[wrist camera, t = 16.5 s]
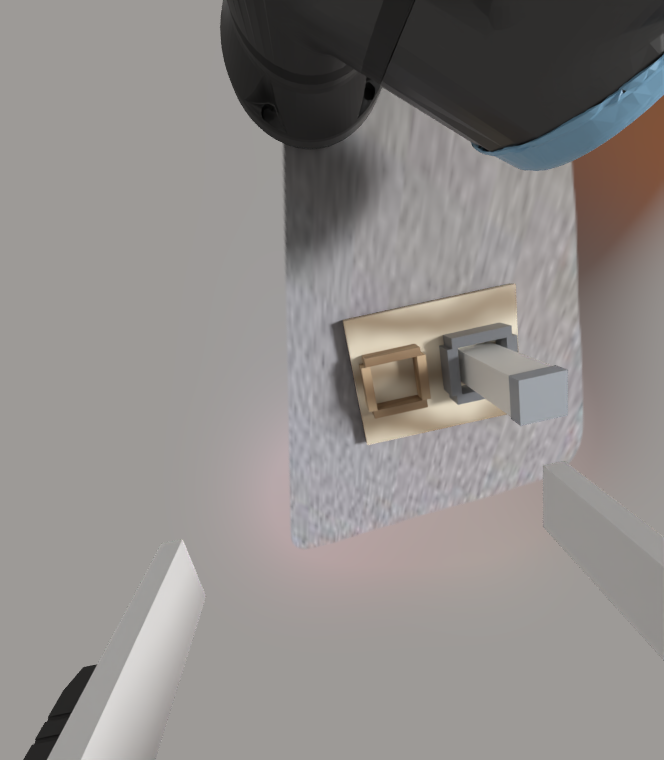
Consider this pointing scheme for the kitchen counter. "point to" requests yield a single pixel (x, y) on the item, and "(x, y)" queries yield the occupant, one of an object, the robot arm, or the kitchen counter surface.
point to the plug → (515, 382)
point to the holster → (402, 403)
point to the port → (466, 338)
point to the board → (426, 331)
